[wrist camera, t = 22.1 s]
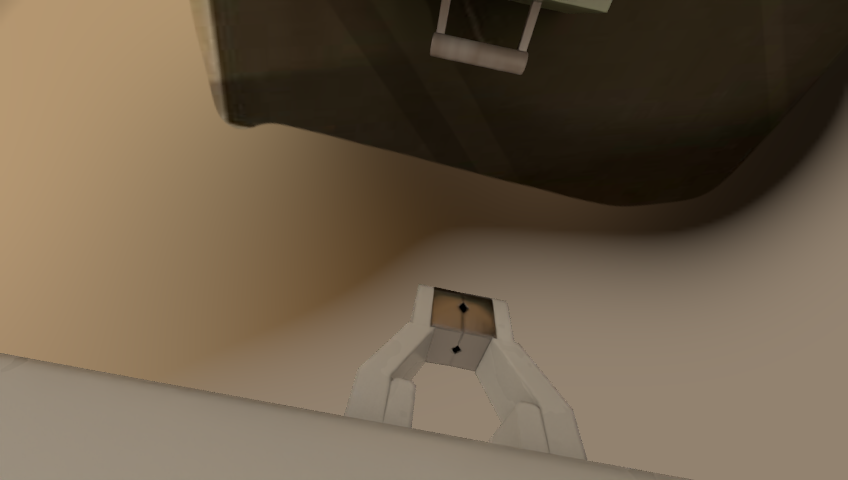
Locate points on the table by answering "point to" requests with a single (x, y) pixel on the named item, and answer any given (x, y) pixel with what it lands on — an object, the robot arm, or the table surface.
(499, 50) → the drawer
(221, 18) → the table surface
